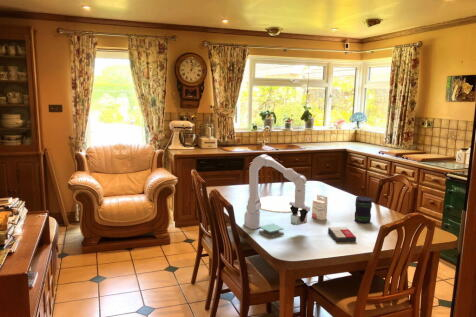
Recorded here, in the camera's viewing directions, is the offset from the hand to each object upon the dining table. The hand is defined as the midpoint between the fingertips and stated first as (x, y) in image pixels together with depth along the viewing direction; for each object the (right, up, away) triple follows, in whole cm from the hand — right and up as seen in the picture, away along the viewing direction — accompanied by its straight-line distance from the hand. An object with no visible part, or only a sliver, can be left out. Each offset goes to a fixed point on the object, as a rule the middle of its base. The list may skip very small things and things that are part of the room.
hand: (298, 220), depth 220 cm
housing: (0, -2, 0) cm, 2 cm away
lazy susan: (-4, +1, +60) cm, 61 cm away
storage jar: (+44, -5, +25) cm, 51 cm away
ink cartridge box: (+18, -4, +30) cm, 35 cm away
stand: (-16, -8, +1) cm, 17 cm away
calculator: (+23, -10, -4) cm, 25 cm away
